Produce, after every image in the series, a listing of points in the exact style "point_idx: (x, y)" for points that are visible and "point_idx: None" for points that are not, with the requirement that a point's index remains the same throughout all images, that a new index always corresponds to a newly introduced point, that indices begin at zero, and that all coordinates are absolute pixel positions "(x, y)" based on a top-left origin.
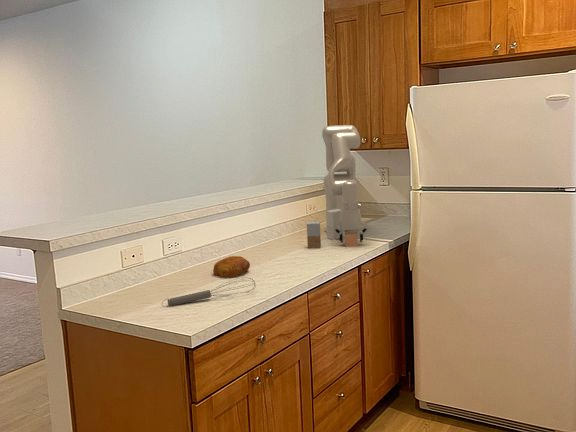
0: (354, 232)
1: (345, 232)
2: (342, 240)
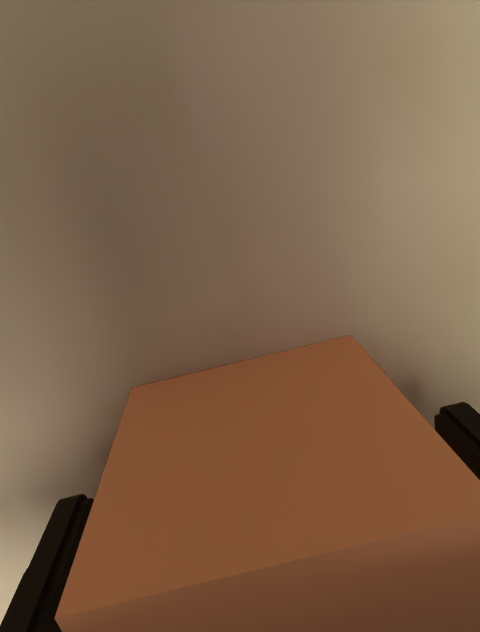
0: (408, 576)
1: (78, 624)
2: None
